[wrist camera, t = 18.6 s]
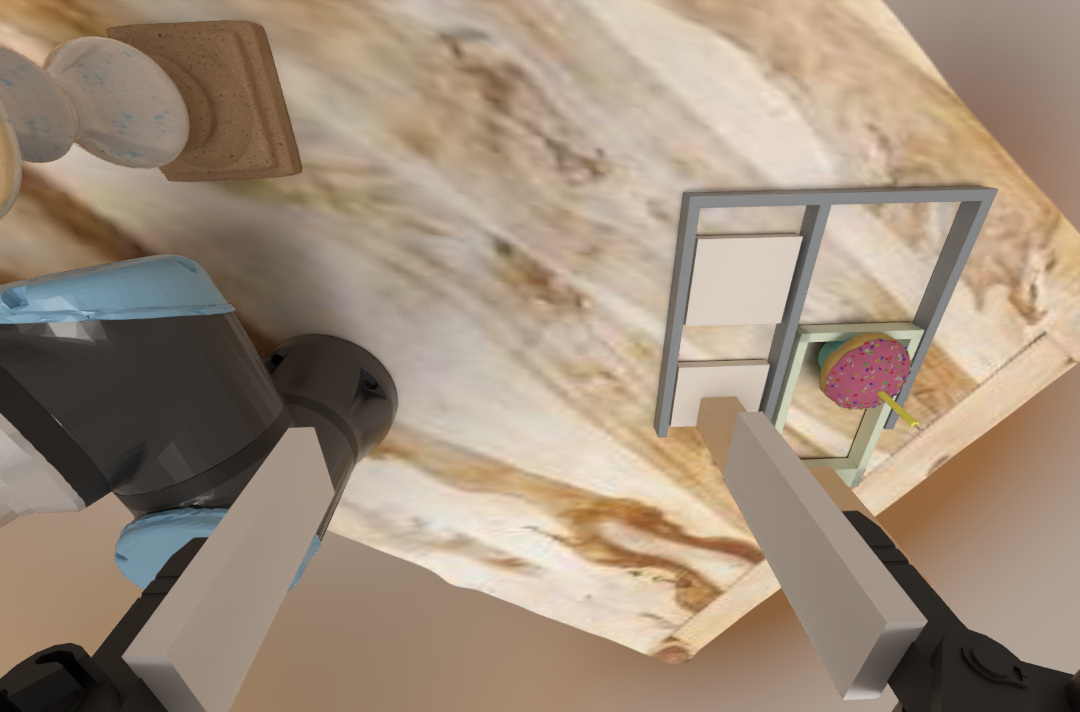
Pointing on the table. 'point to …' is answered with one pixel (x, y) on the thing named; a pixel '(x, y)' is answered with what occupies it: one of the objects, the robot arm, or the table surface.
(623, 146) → the table surface
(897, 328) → the pale green frame
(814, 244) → the board
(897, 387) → the cupcake
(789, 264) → the broken strip
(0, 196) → the candle holder
